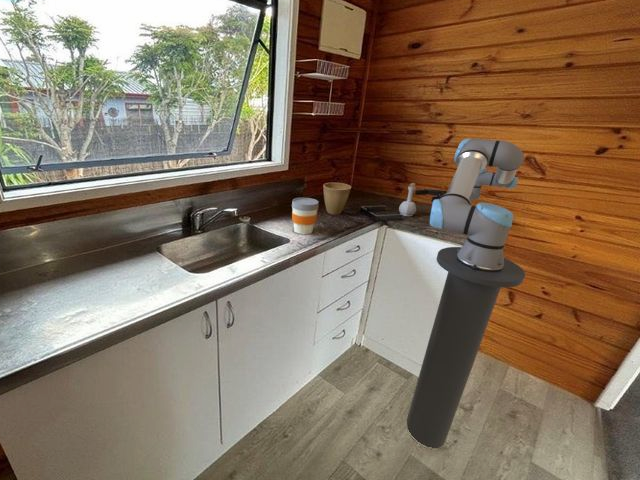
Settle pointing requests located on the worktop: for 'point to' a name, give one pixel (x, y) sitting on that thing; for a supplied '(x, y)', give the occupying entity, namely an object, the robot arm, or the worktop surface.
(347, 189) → the plant pot
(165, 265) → the worktop surface
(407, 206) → the potion bottle
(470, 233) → the robot arm
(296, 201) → the reusable coffee cup
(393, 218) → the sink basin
